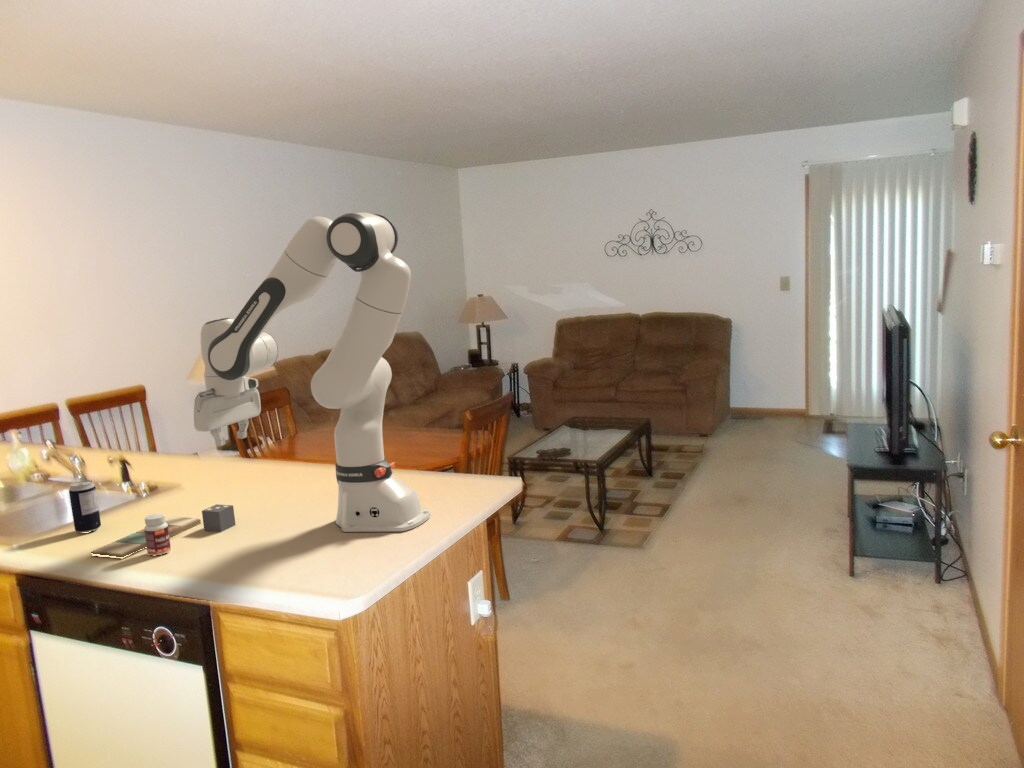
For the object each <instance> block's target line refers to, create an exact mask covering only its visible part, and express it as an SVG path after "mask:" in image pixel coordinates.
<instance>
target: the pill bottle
mask: <svg viewBox="0 0 1024 768" xmlns="http://www.w3.org/2000/svg"><path fill="white" fill-rule="evenodd" d="M165 519H166V515H165V514H164V513H154V514H150V515H147V516H145V517H144V524H145V526H144V528H143V529H144V531H145V538H146V545H147V548H146V553H147V556H149V555H161V556H163V555H162V554H165V553H167V554H169V553H170V552H171V551H172V549H171V539H170V538H171V537H170V538H169V531H168V524H167V523H165ZM168 552H169V553H168ZM165 555H166V554H165Z"/></svg>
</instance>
